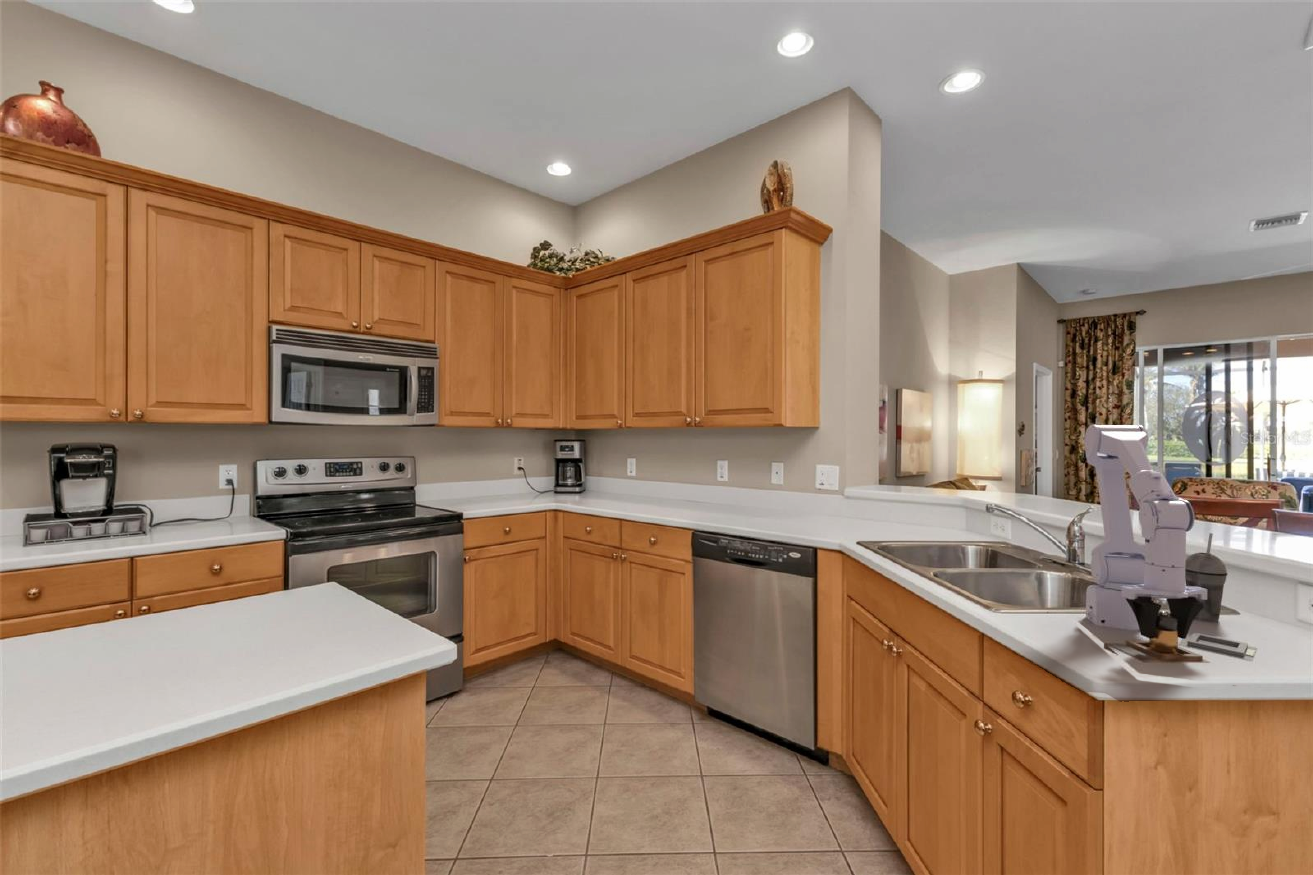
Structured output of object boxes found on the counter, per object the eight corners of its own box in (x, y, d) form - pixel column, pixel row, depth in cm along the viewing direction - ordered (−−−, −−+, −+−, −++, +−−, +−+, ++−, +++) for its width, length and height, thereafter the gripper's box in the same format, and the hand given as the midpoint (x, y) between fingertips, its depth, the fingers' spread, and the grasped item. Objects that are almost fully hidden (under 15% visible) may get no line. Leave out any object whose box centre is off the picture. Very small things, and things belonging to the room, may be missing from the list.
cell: (1155, 655, 105) (1155, 614, 105) (1145, 647, 109) (1144, 607, 109) (1182, 657, 104) (1182, 616, 104) (1171, 649, 108) (1170, 609, 108)
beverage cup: (1172, 617, 131) (1174, 529, 130) (1207, 618, 130) (1208, 530, 130) (1199, 628, 123) (1201, 535, 123) (1236, 629, 123) (1238, 536, 122)
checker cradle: (1252, 666, 103) (1252, 656, 103) (1177, 650, 111) (1177, 640, 111) (1257, 653, 109) (1257, 643, 109) (1186, 638, 117) (1186, 629, 117)
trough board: (1143, 667, 102) (1144, 657, 102) (1103, 648, 111) (1104, 639, 111) (1210, 667, 102) (1210, 657, 102) (1164, 648, 111) (1164, 639, 111)
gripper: (1144, 569, 102) (1143, 644, 103) (1224, 569, 103) (1222, 645, 103) (1112, 560, 109) (1111, 630, 110) (1187, 560, 110) (1186, 631, 110)
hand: (1163, 636), depth 107 cm, fingers open, 5 cm apart
